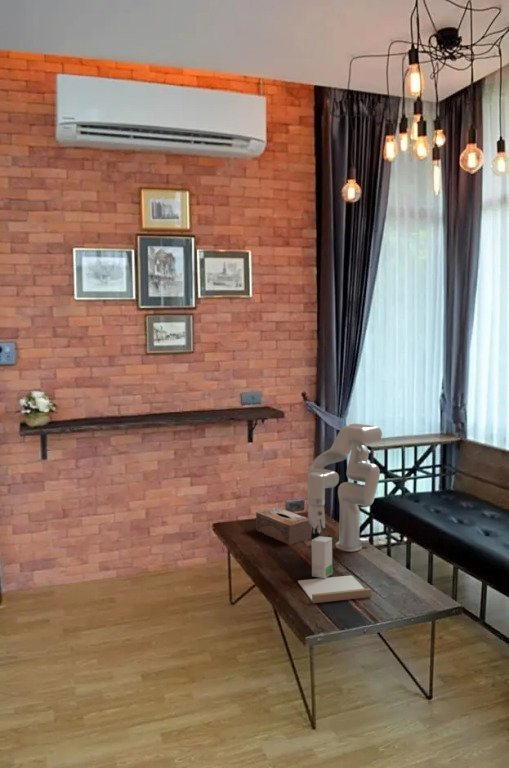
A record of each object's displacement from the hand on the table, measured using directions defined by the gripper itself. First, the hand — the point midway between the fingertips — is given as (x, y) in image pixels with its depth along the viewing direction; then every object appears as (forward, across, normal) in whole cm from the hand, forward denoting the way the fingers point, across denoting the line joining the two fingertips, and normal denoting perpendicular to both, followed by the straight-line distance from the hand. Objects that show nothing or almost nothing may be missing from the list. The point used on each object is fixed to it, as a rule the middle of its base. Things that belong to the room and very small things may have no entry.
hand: (315, 541), depth 264 cm
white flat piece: (+12, -22, 0) cm, 25 cm away
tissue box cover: (+12, +43, +2) cm, 45 cm away
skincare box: (+12, -9, 0) cm, 15 cm away
